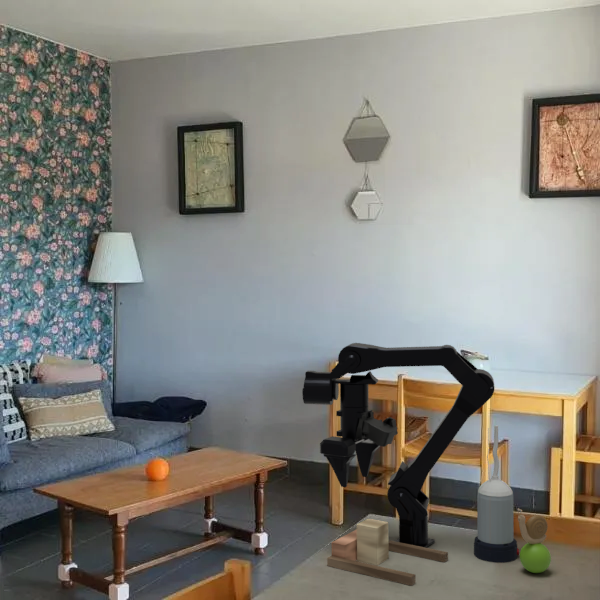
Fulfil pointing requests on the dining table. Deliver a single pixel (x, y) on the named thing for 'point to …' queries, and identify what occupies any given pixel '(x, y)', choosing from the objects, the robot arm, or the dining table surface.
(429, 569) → the dining table surface
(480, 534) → the humidifier
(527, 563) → the snail figurine
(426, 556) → the guide track
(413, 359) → the robot arm
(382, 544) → the block
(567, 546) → the dining table surface
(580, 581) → the dining table surface
